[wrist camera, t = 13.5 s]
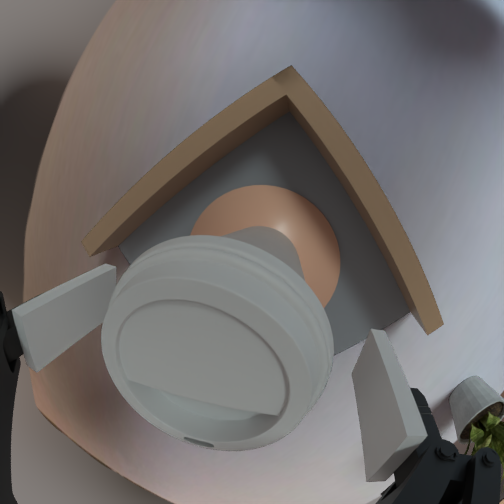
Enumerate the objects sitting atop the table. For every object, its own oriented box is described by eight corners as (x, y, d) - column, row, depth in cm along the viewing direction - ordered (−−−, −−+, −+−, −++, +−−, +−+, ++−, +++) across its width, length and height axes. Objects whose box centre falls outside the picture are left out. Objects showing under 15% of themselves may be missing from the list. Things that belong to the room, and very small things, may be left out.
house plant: (526, 330, 20) (594, 400, 4) (492, 411, 23) (530, 485, 7) (444, 350, 22) (511, 463, 7) (414, 433, 26) (438, 532, 10)
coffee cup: (188, 284, 25) (78, 385, 10) (233, 185, 22) (114, 192, 8) (283, 335, 24) (254, 481, 10) (340, 242, 21) (399, 344, 7)
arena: (294, 88, 20) (291, 65, 15) (422, 299, 22) (443, 324, 17) (113, 231, 26) (81, 241, 21) (235, 394, 28) (224, 426, 23)
